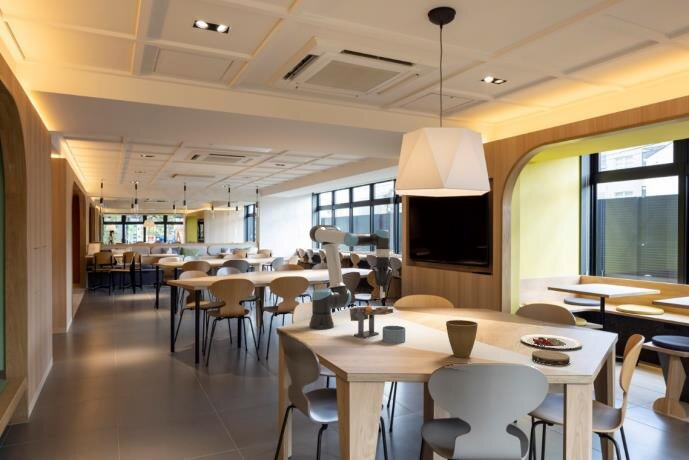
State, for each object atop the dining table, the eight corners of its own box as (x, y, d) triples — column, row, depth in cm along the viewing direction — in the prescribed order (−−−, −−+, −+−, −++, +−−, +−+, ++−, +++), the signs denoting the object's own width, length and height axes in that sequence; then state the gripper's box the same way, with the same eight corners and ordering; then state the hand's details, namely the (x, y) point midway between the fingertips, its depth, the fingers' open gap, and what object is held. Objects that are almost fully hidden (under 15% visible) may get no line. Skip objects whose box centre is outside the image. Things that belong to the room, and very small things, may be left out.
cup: (378, 341, 247) (378, 328, 247) (391, 337, 256) (391, 324, 256) (397, 344, 239) (397, 331, 239) (409, 340, 248) (409, 327, 248)
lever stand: (353, 336, 257) (353, 312, 257) (367, 332, 267) (367, 309, 267) (364, 338, 252) (365, 314, 252) (378, 334, 262) (378, 311, 262)
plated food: (583, 342, 249) (583, 336, 249) (580, 354, 223) (580, 347, 223) (525, 335, 264) (525, 329, 264) (515, 346, 238) (516, 340, 238)
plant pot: (482, 355, 219) (483, 322, 219) (468, 361, 208) (468, 327, 208) (454, 349, 229) (455, 318, 229) (439, 355, 218) (440, 322, 218)
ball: (364, 313, 258) (363, 306, 259) (368, 312, 261) (367, 305, 262) (369, 313, 256) (369, 305, 256) (374, 312, 259) (373, 305, 259)
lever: (350, 320, 262) (349, 308, 263) (365, 317, 273) (364, 305, 274) (386, 320, 246) (384, 307, 247) (400, 316, 257) (399, 304, 258)
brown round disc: (547, 354, 222) (547, 348, 222) (577, 363, 208) (577, 356, 208) (524, 359, 215) (524, 352, 215) (554, 368, 201) (554, 361, 201)
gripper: (369, 256, 263) (369, 297, 262) (388, 257, 254) (388, 299, 254) (377, 256, 268) (377, 295, 268) (395, 256, 260) (395, 297, 260)
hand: (382, 297), depth 261 cm, fingers closed
